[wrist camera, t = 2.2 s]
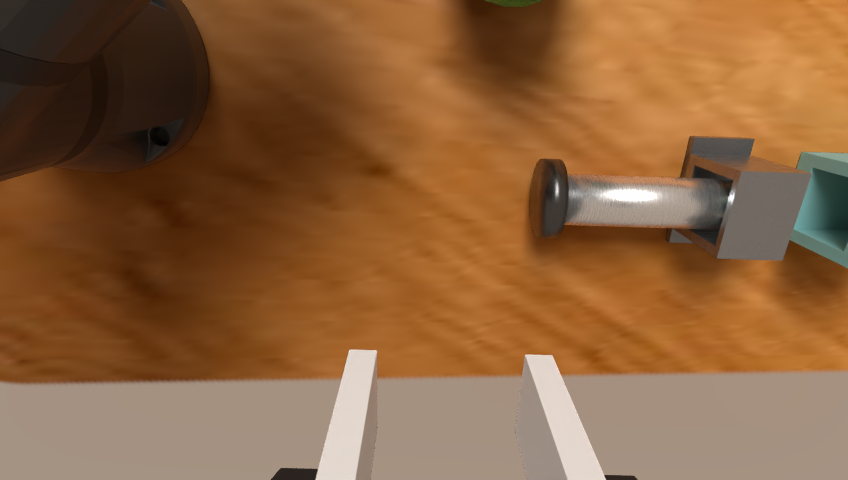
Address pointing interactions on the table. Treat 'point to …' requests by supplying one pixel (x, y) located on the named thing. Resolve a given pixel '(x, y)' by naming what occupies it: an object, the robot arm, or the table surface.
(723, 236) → the guide
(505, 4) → the fruit
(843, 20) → the table surface
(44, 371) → the table surface
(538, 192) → the plunger
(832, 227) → the socket
